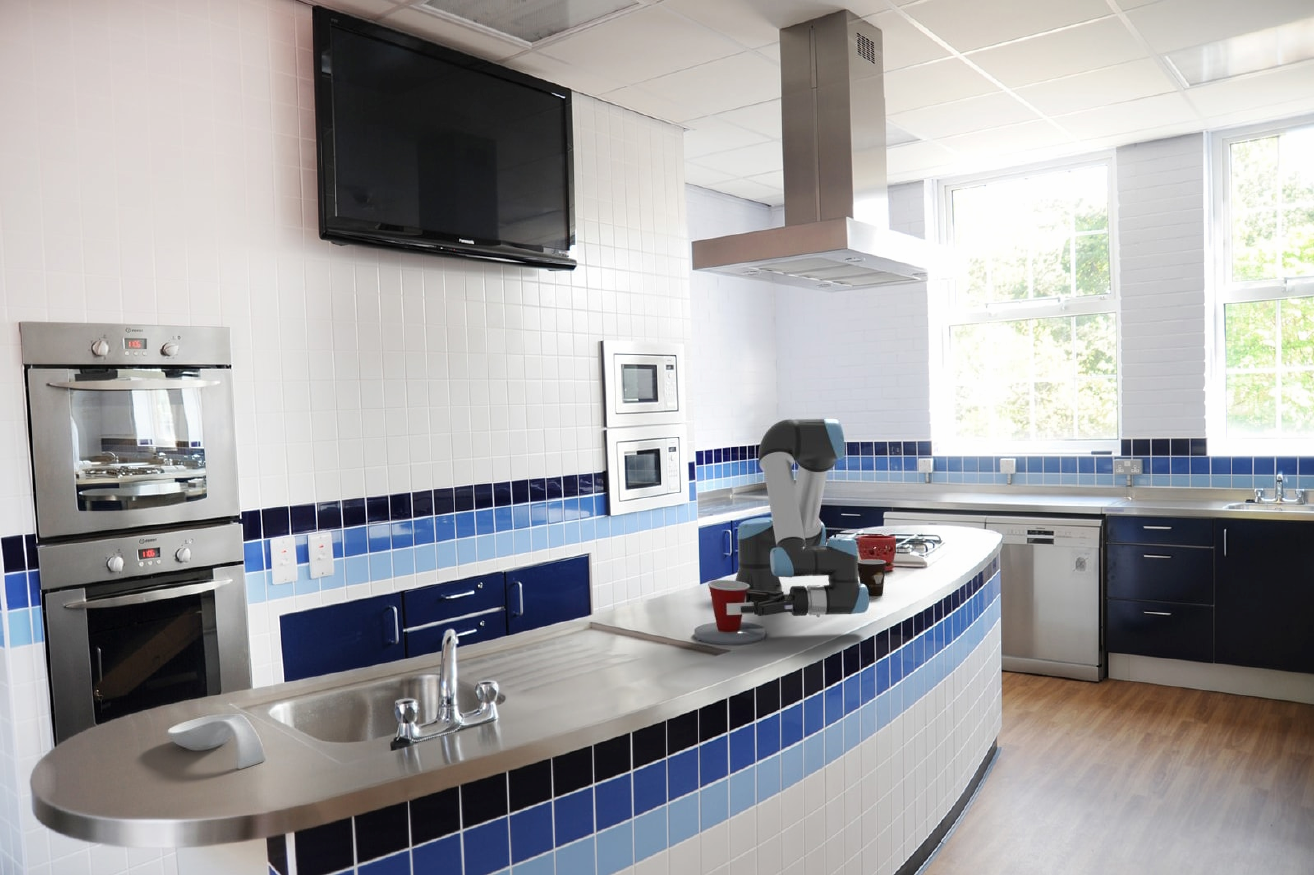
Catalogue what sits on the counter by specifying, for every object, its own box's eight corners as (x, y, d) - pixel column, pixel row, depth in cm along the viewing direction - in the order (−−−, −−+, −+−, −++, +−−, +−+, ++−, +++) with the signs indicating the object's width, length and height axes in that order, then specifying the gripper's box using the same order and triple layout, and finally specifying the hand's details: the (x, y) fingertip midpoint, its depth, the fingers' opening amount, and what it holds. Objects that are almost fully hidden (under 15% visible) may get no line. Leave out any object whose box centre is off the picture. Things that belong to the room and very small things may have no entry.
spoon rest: (156, 747, 160) (154, 707, 159) (222, 728, 169) (221, 691, 169) (219, 778, 145) (217, 734, 145) (288, 756, 154) (286, 714, 154)
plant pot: (903, 571, 313) (903, 537, 313) (870, 574, 309) (869, 539, 309) (884, 565, 325) (883, 532, 325) (851, 568, 322) (851, 535, 322)
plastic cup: (747, 635, 222) (746, 587, 222) (704, 634, 225) (703, 586, 224) (753, 625, 233) (752, 579, 232) (712, 624, 235) (711, 578, 235)
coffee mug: (884, 591, 279) (883, 559, 279) (888, 596, 271) (887, 563, 271) (846, 591, 281) (845, 559, 280) (849, 597, 272) (848, 564, 272)
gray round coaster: (685, 631, 234) (684, 625, 234) (748, 624, 239) (748, 619, 239) (708, 647, 217) (708, 641, 217) (776, 640, 222) (776, 634, 222)
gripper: (817, 626, 216) (729, 629, 216) (797, 605, 241) (719, 607, 241) (816, 595, 216) (729, 598, 215) (797, 577, 241) (718, 579, 240)
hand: (723, 603), depth 228 cm, fingers open, 13 cm apart
